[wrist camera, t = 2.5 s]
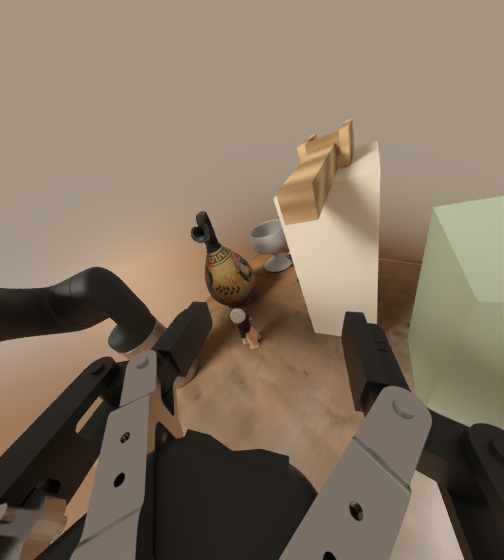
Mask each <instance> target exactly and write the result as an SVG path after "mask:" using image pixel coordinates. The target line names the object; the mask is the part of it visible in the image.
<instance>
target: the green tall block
mask: <svg viewBox="0 0 504 560" xmlns="http://www.w3.org/2000/svg"><path fill="white" fill-rule="evenodd" d="M408 344H409V351H410V358H411V366H412V373H413V380H414V387H415V395H416V396H417V397H418V398H419V399H420V400H421V401H422V402H423V403H424V404H425V405H426V406H427V407H428V408H429V409H431V410H433V411H434V412H436V413H438V414H441V415H443V416H445V417H448V418H450V419H452V420H454V421H457V422H459V423H461V424H464V425H466V426H468V427H471V426H472V425H473V424H476V423H486V424H490V425H493V426H496V427H498V428H501V429H503V430H504V196H501V197H494V198H488V199H482V200H475V201H469V202H463V203H456V204H451V205H444V206H438V207H433V210H432V215H431V220H430V225H429V230H428V235H427V240H426V246H425V251H424V256H423V261H422V266H421V271H420V276H419V282H418V287H417V292H416V297H415V302H414V307H413V313H412V318H411V323H410V328H409V333H408Z"/></svg>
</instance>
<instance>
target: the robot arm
mask: <svg viewBox="0 0 504 560" xmlns="http://www.w3.org/2000/svg"><path fill="white" fill-rule="evenodd" d="M108 318H111V319H112V320H113V321H115V323H116V324H117V325H116V327H115V328H114V330H113V331H112V332H111V334H110V336H109V339H108V344H109V346H110V347H111V348H112V349H114V350H115V351H117V352H118V353H120V354H122V355H123V356H124V357H126V358H127V359H129V361H123V362H117V363H116V362H115V361H114V360H113V358H111V357H103V358H100V359H98V360H96V361H95V362H93V363H91V364H90V365H89V366H88V367H87V368H86V369H85V370H84V371H83V372H82V373H81V374H80V375H79V376H78V377H77V378H76V379H75V380H74V381H73V382H72V383H71V384H70V385H69V386H68V388H66V389H65V390H64V392H63V393H62V394H61V395H60V396H59V397H58V398H57V399H56V400H55V401H54V402H53V403H52V404H51V405H50V406H49V407H48V408H47V409H46V410H45V411H44V412H43V413H42V414H41V415H40V416H39V417H38V418H37V419H36V421H35V422H34V423H33V424H32V425H31V426H30V427H29V428H28V429H27V430H26V431H25V432H24V433H23V434H22V435H21V436H20V437H19V438H18V439H17V440H16V441H15V442H14V443H13V444H12V445H11V446H10V448H9V449H7V450H6V452H5V453H4V454H3V455H2V456H1V457H0V560H389V558H390V555H391V552H392V550H393V547H394V544H395V541H396V538H397V535H398V533H399V530H400V527H401V524H402V521H403V519H404V516H405V513H406V510H407V507H408V504H409V501H410V496H411V489H410V483H411V479H412V477H413V474H414V471H415V470H417V471H419V472H420V473H422V474H424V475H426V476H427V477H429V478H431V479H432V480H434V481H436V482H437V484H438V487H439V490H440V492H441V495H442V498H443V501H444V504H445V507H446V509H447V512H448V515H449V518H450V521H451V523H452V526H453V529H454V532H455V535H456V538H457V540H458V543H459V546H460V549H461V552H462V554H463V557H464V560H504V430H503V429H501V428H498V427H496V426H493V425H490V424H486V423H476V424H473V425H472V426H471V427H468V426H466V425H464V424H461V423H459V422H457V421H454V420H452V419H450V418H448V417H445V416H443V415H441V414H438V413H436V412H434V411H433V410H431V409H429V408H428V407H427V406H426V405H425V404H424V403H423V402H422V401H421V400H420V399H419V398H418V397H417V396H416V395H414V394H413V393H412V392H411V390H410V389H409V387H408V385H407V383H406V380H405V378H404V376H403V374H402V371H401V369H400V367H399V365H398V363H397V360H396V358H395V356H394V354H393V353H392V349H391V347H390V345H389V344H388V343H389V342H388V340H387V338H386V336H385V333H384V332H383V331H382V330H381V329H380V328H379V327H378V326H377V325H376V324H373V323H367V320H366V318H365V315H364V313H363V312H351V311H346V313H345V317H344V322H343V327H342V333H341V339H342V346H343V351H344V356H345V361H346V366H347V371H348V377H349V382H350V387H351V392H352V397H353V402H354V407H355V411H360V412H363V413H364V417H365V419H364V421H363V422H362V424H361V426H360V427H359V429H358V431H357V432H356V434H355V435H354V436H353V438H352V439H351V441H350V442H349V444H348V446H347V447H346V449H345V451H344V452H343V454H342V455H341V457H340V459H339V460H338V462H337V464H336V465H335V467H334V469H333V470H332V472H331V474H330V475H329V477H328V479H327V480H326V482H325V484H324V485H323V487H322V489H321V490H320V492H319V494H318V493H317V491H316V490H315V488H314V487H313V486H312V484H311V483H310V482H309V480H308V479H307V478H306V477H305V476H304V475H303V474H302V473H301V472H300V471H299V470H298V469H296V468H295V467H294V466H292V465H291V464H289V456H286V455H282V454H278V453H274V452H271V451H267V450H263V449H254V450H241V451H232V450H230V449H229V448H227V447H226V446H224V445H223V444H222V443H220V442H219V441H218V440H216V439H215V438H213V437H212V436H211V435H208V434H204V433H200V432H197V431H193V430H189V429H188V430H187V433H186V435H185V437H183V432H182V428H181V425H180V423H179V418H178V407H177V394H176V388H180V387H182V386H184V385H185V384H187V383H188V382H189V381H190V380H191V379H192V378H193V376H194V375H195V373H196V371H197V368H198V358H197V355H198V353H199V351H200V349H201V347H202V345H203V343H204V342H205V340H206V338H207V336H208V334H209V332H210V330H211V328H212V317H211V314H210V312H209V309H208V306H207V303H205V302H193V303H192V304H191V305H190V306H189V308H188V309H185V310H184V311H182V312H181V313H180V314H179V315H178V316H177V317H176V318H175V319H174V320H173V323H171V324H170V326H169V328H166V327H165V326H163V325H162V324H161V323H160V322H159V321H158V320H157V319H156V318H155V317H154V316H153V315H152V314H151V313H150V311H149V310H148V308H147V307H146V306H145V304H144V303H143V302H142V301H141V300H140V299H139V298H138V297H137V296H136V295H135V294H134V293H133V292H132V291H131V290H130V289H129V287H128V286H127V285H126V284H125V283H124V282H123V281H122V280H121V279H120V278H119V277H118V276H116V275H115V274H114V273H112V272H111V271H109V270H107V269H104V268H101V267H92V268H89V269H86V270H84V271H82V272H80V273H78V274H76V275H74V276H72V277H70V278H69V279H66V280H64V281H63V282H61V283H59V284H56V285H54V286H50V287H46V288H34V289H33V288H32V289H5V288H0V342H1V341H5V340H11V339H17V338H24V337H31V336H40V335H49V334H58V333H67V332H75V331H80V330H84V329H87V328H90V327H92V326H94V325H96V324H98V323H100V322H102V321H104V320H106V319H108ZM98 396H99V397H100V398H101V399H102V400H103V402H102V403H101V404H100V406H99V407H98V408H97V409H96V411H95V412H94V413H93V415H92V416H91V417H90V419H89V420H88V421H87V423H86V424H85V425H84V426H83V428H82V429H81V430H80V432H79V433H78V434H77V433H76V431H75V430H76V425H77V423H78V422H79V420H80V419H81V418H82V416H83V415H84V414H85V413H86V411H87V410H88V409H89V408H90V406H91V405H92V404H93V403H94V401H95V400H96V399H97V398H98ZM99 455H100V456H99ZM98 457H99V461H98V465H97V470H96V475H95V479H94V484H93V489H92V493H91V498H90V502H89V507H88V512H87V513H86V514H85V515H83V516H82V517H81V518H80V519H79V520H78V521H77V522H76V523H75V524H73V525H72V526H71V527H70V528H69V529H68V530H67V531H65V532H64V533H63V534H62V535H61V536H60V537H59V535H60V534H61V533H62V531H63V530H64V528H65V526H66V523H67V516H65V515H64V513H65V510H66V506H67V505H68V503H69V502H70V500H71V499H72V497H73V496H74V494H75V492H76V491H77V489H78V488H79V486H80V485H81V483H82V482H83V480H84V478H85V477H86V475H87V474H88V472H89V470H90V469H91V467H92V466H93V464H94V463H95V461H96V460H97V458H98ZM58 537H59V538H58ZM55 539H57V540H55ZM54 540H55V541H54ZM52 541H54V542H53V543H52V544H51V545H50V543H51V542H52Z"/></svg>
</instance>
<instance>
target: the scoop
mask: <svg viewBox="0 0 504 560" xmlns="http://www.w3.org/2000/svg"><path fill="white" fill-rule="evenodd" d="M353 136H354V134H353V118H352V119H349V120H347V121H345V122H344V124H343V125H342V127H341V128H340V130H338V131H335V132H333V133H331V134H328V135H325V136H323V137H320V138H318V139H317V134H314V135H312V136H310V137H309V138H308V139H306V141H304V142H303V143H302V144H301V145H300V146H299V147H298V148H297V149H298V154H299V158H300V165H299V166H298V167H297V169H296V170H295V171H294V172H293V173H292V174H291V176H290V177H289V178H288V179H287V180H286V182H285V183H284V184H283V185H282V186H281V187H280V189H279V190H278V191H277V192H276V196H277V200H278V203H279V206H280V210H281V213H282V216H283V220H284V223H285V225H291V224H296V223H302V222H308V221H313V220H318V219H319V217H320V214H321V212H322V209H323V206H324V204H325V201H326V198H327V196H328V193H329V191H330V188H331V185H332V183H333V180H334V177H335V175H336V172H337V170H338V169H340V168H343V167H346V166H350V165H351V161H352V157H353V153H354V137H353Z"/></svg>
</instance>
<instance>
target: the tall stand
mask: <svg viewBox="0 0 504 560" xmlns="http://www.w3.org/2000/svg"><path fill="white" fill-rule="evenodd" d="M274 202H275V205H276V208H277V212H278V214H279V218H280V221H281V224H282V228H283V231H284V234H285V237H286V241H287V244H288V247H289V250H290V254H291V257H292V260H293V263H294V267H295V270H296V273H297V276H298V279H299V283H300V286H301V289H302V292H303V296H304V299H305V302H306V305H307V309H308V312H309V315H310V318H311V321H312V325H313V328H314V331H315V333H321V334H327V335H334V336H341V333H342V327H343V322H344V317H345V313H346V311H351V312H363V313H364V315H365V318H366V320H367V323H373V324H376V325H377V294H378V250H379V247H378V246H379V203H380V161H379V150H378V141H375V142H373V143H370V144H367V145H364V146H361V147H358V148H356V149H354V153H353V157H352V161H351V165H350V166H346V167H343V168H340V169H338V170H337V172H336V175H335V177H334V180H333V183H332V185H331V188H330V191H329V193H328V196H327V198H326V201H325V204H324V206H323V209H322V212H321V214H320V217H319V219H318V220H313V221H308V222H302V223H296V224H291V225H285V223H284V220H283V216H282V213H281V210H280V206H279V203H278V200H277V196H275V197H274Z"/></svg>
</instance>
